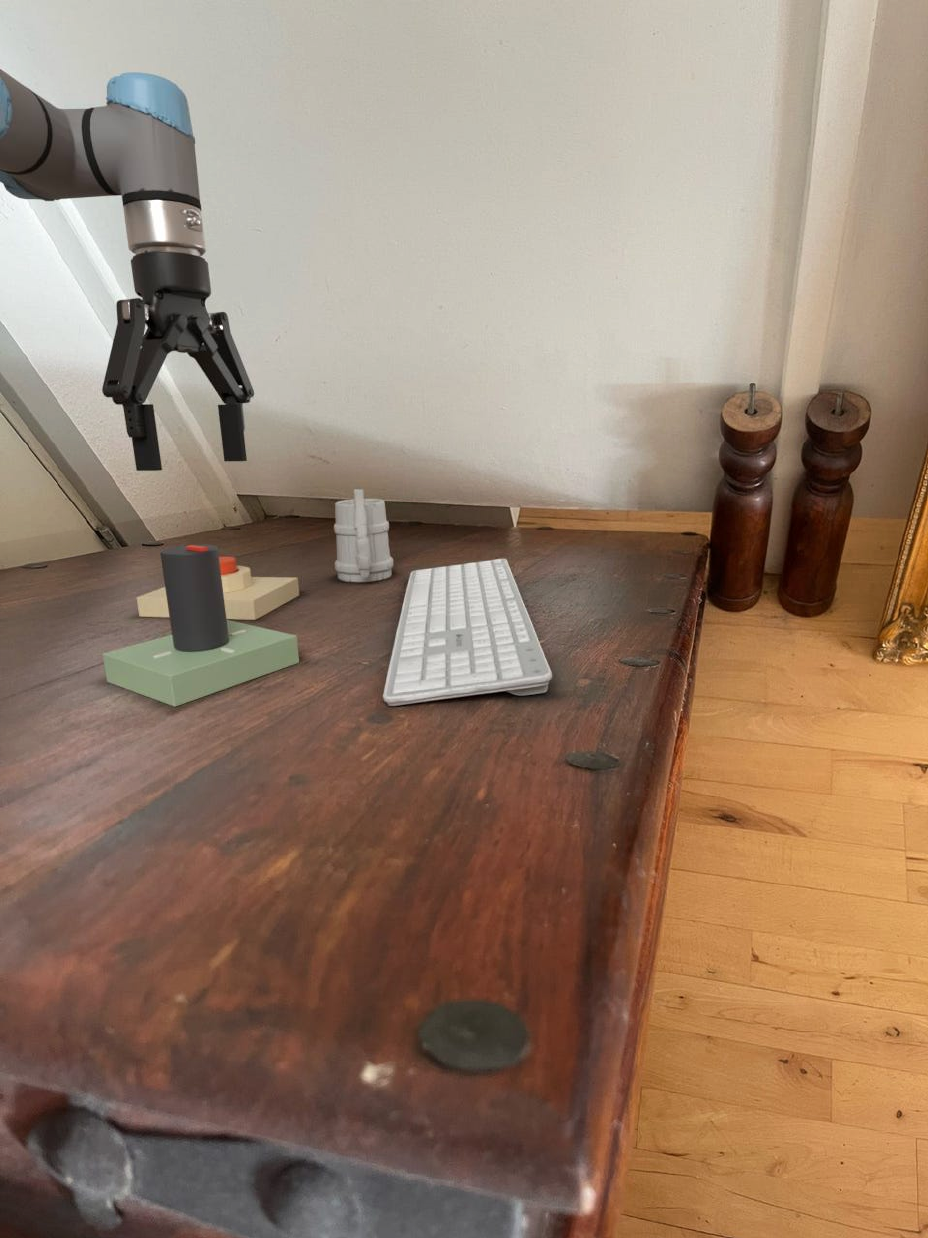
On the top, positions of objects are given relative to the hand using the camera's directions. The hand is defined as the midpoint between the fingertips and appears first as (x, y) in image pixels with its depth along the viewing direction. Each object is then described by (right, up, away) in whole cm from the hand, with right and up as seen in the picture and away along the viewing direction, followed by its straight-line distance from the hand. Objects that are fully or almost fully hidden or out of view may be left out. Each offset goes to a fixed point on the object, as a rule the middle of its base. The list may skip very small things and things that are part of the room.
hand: (195, 465), depth 83 cm
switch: (+2, -12, +2) cm, 12 cm away
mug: (+17, -12, +14) cm, 25 cm away
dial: (+8, -19, -20) cm, 29 cm away
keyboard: (+30, -18, -7) cm, 35 cm away
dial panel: (+8, -22, -20) cm, 30 cm away
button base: (+2, -15, +3) cm, 16 cm away
